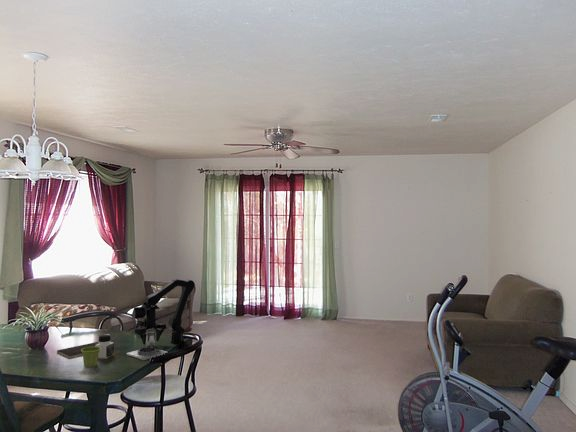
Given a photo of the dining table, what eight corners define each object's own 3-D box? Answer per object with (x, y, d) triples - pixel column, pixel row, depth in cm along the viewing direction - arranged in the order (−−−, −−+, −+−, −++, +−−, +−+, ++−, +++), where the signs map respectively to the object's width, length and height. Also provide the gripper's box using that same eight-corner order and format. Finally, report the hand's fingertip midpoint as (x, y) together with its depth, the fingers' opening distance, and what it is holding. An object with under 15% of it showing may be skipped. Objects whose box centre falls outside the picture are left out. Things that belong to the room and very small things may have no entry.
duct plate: (150, 348, 266) (150, 344, 266) (167, 353, 256) (167, 349, 256) (126, 354, 253) (126, 350, 253) (143, 360, 243) (143, 355, 243)
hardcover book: (109, 350, 263) (109, 346, 263) (69, 359, 246) (69, 355, 246) (96, 345, 274) (96, 341, 274) (57, 354, 257) (57, 349, 257)
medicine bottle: (106, 358, 246) (106, 336, 246) (94, 358, 247) (95, 336, 247) (114, 355, 253) (114, 333, 253) (102, 354, 254) (102, 332, 254)
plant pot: (97, 361, 241) (97, 345, 241) (102, 366, 233) (102, 349, 234) (78, 365, 235) (78, 348, 235) (83, 369, 228) (83, 352, 228)
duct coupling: (151, 344, 274) (151, 331, 274) (156, 346, 271) (156, 332, 271) (144, 346, 270) (144, 333, 270) (149, 348, 267) (149, 334, 267)
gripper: (155, 312, 283) (155, 337, 283) (129, 317, 268) (129, 344, 268) (166, 315, 276) (166, 340, 276) (140, 320, 261) (140, 347, 261)
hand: (150, 342), depth 270 cm, fingers open, 9 cm apart
